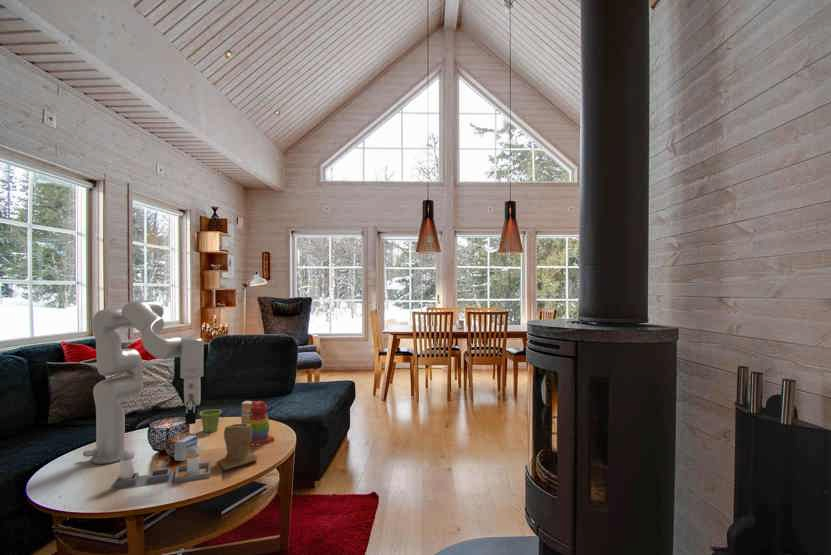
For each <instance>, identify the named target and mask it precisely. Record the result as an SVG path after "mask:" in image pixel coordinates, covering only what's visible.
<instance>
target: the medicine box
mask: <svg viewBox="0 0 831 555" xmlns="http://www.w3.org/2000/svg"><path fill="white" fill-rule="evenodd" d="M187 436H188V437H187ZM187 436H185V438H184V437H182V438H180V439H178V440H176V441H175V442H174V461H180V462H185V461H187V449H188V448H190V447H198V436H197V435H187Z"/></svg>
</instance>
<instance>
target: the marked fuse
mask: <svg viewBox="0 0 831 555" xmlns="http://www.w3.org/2000/svg"><path fill="white" fill-rule="evenodd" d="M199 463H200V446H197V447H190V448H188V449H187V460H186V465H187V470H186V476H187V475H195V474H200V468H199Z"/></svg>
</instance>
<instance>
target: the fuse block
mask: <svg viewBox="0 0 831 555" xmlns="http://www.w3.org/2000/svg"><path fill="white" fill-rule="evenodd" d="M171 469H172V468H170V467H169V468H163V469H155V470H151V471H150V474H145V475H140V474H139V472H134V479H129V480H121V481H120V474H119V475H118V476H117V478H116V479H115V481H114V483H113V485H112V487H111V489H110V492H112V491H121V490H126V489H127V490H128V489H135V488H141V487H142V488H143V487H149V486H155V485H156V486H157V485H161V484H162V485H163V484H169V483H172V482H173V479H174V475H175V471H172V470H171Z"/></svg>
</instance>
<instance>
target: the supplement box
mask: <svg viewBox="0 0 831 555" xmlns="http://www.w3.org/2000/svg"><path fill="white" fill-rule="evenodd" d="M253 401H255V400H252V401H251V400H245V401H243V402H241V420H240V421H241V423H240V424H248V420H249V418H250V416H251V415H252V413H251V406H252V402H253ZM255 402H257V401H255Z"/></svg>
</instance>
